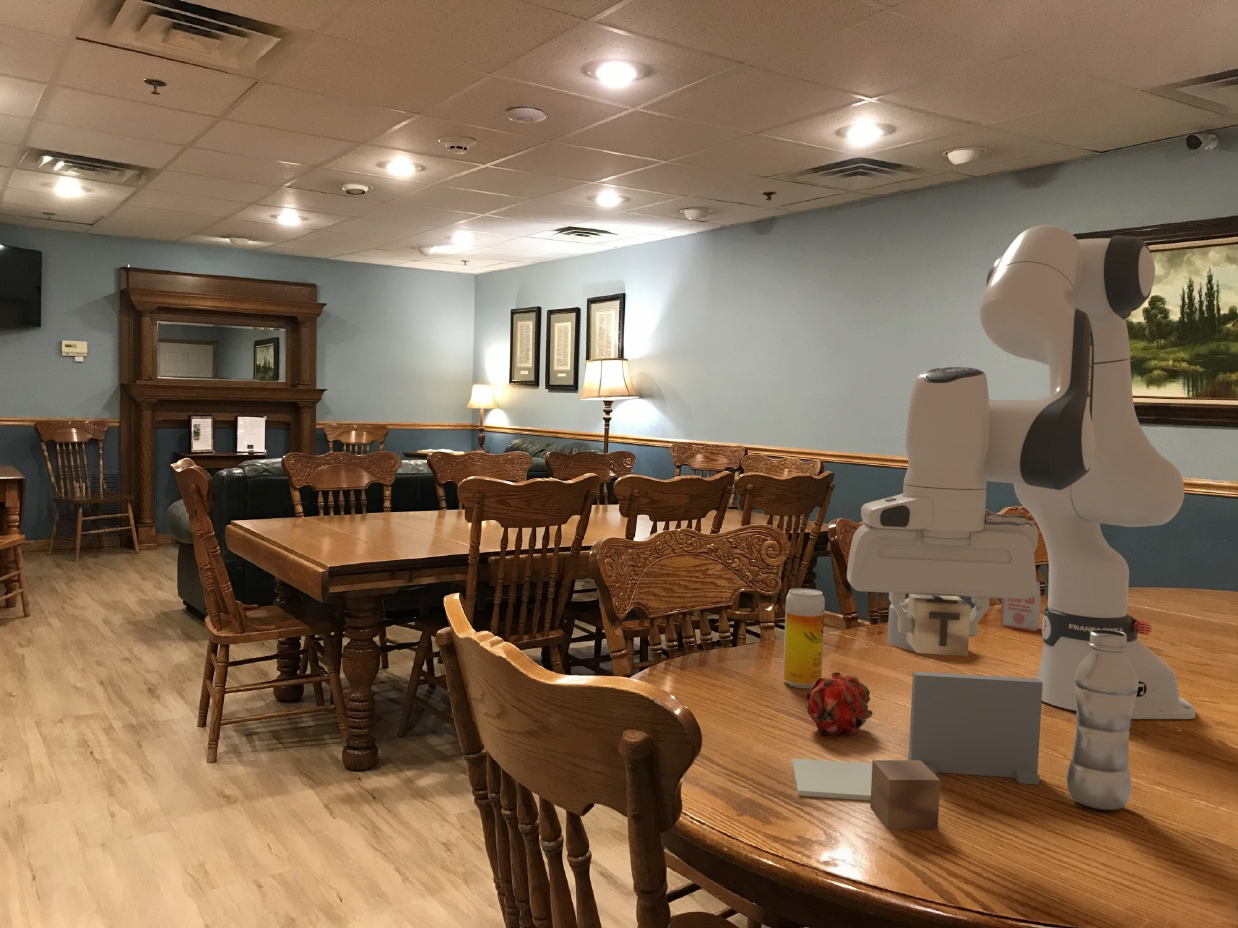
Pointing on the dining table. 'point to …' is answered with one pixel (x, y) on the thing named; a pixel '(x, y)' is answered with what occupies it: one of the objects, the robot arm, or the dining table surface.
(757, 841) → the dining table surface
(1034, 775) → the grey board
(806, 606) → the beer can
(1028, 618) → the tea bag
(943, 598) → the lettered cube
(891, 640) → the lumpy-topped squat cylinder
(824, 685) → the dragon fruit
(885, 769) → the plain cube
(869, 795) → the coaster
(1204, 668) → the dining table surface
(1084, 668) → the plastic bottle
